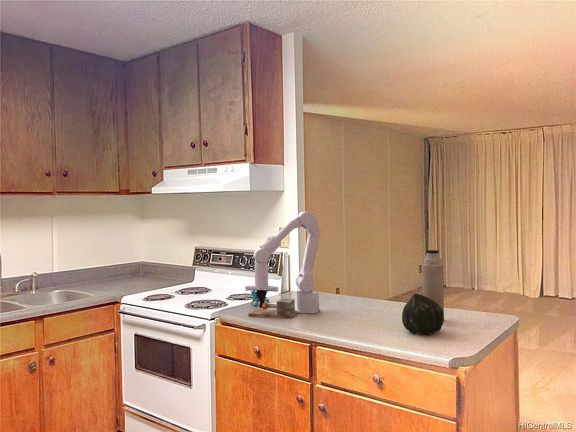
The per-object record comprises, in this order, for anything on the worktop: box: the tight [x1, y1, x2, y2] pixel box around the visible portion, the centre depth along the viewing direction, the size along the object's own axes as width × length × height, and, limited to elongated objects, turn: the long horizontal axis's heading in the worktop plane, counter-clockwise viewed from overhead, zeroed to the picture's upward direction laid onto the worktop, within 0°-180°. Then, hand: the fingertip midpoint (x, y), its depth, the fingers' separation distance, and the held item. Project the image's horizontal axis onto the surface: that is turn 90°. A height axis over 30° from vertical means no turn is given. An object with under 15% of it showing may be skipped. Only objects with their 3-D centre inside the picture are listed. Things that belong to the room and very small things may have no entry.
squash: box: [401, 293, 445, 336], centre depth 172 cm, size 14×15×15 cm
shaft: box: [261, 301, 294, 310], centre depth 203 cm, size 13×4×4 cm, turn 74°
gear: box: [250, 291, 271, 307], centre depth 223 cm, size 11×6×10 cm
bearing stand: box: [247, 297, 299, 319], centre depth 204 cm, size 20×9×6 cm, turn 74°
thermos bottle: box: [421, 249, 445, 315], centre depth 188 cm, size 8×8×28 cm
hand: (262, 307), depth 205 cm, fingers closed
